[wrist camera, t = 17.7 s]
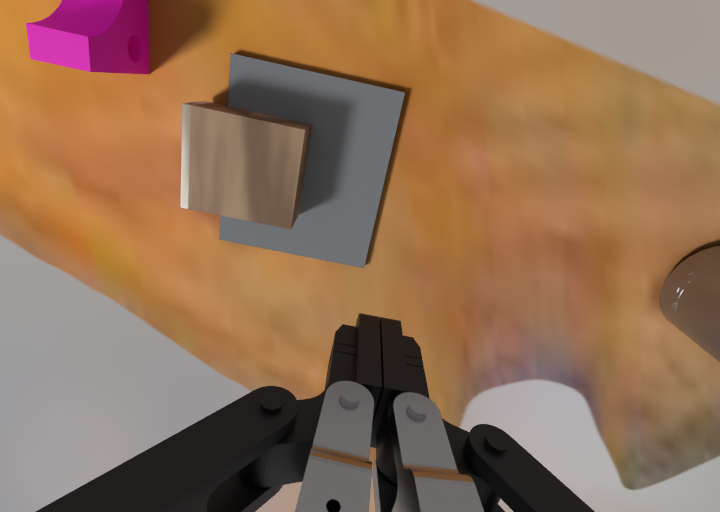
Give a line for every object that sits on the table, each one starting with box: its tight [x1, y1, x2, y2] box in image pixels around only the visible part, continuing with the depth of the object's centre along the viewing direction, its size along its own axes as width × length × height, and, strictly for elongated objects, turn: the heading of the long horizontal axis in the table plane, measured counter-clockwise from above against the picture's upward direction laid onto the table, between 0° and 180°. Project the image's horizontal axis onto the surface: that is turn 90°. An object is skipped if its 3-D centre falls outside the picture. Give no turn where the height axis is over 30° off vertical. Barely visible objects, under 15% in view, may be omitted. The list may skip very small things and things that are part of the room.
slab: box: [181, 101, 312, 230], centre depth 32 cm, size 4×8×9 cm
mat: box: [219, 53, 405, 268], centre depth 34 cm, size 14×16×1 cm
